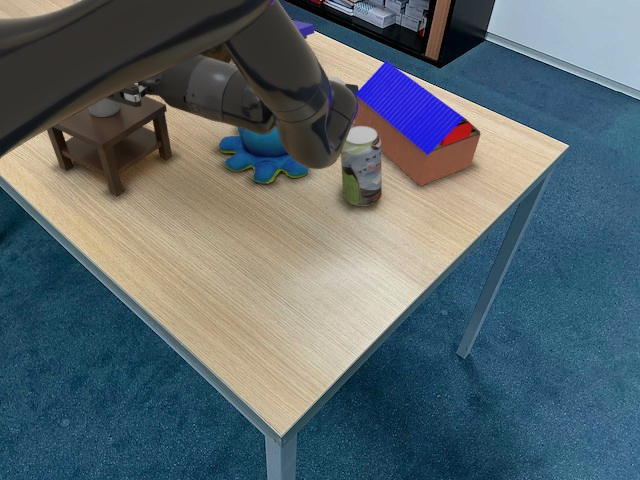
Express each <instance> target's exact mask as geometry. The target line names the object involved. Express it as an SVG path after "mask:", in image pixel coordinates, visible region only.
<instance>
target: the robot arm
mask: <svg viewBox="0 0 640 480" xmlns="http://www.w3.org/2000/svg"><path fill="white" fill-rule="evenodd" d="M221 44H222V45H223V47H224V48H225V50H226V51H227V53H228V54H229V56H230V57H231V60H232V62H233V64H231V63H226V62H223V61H219V60H216V59H213V58H210V57H206V56H203V55H200V54H202V53H204V52H206V51H208V50H210V49H213V48H215V47H217V46H219V45H221ZM327 76H328V75H327V73H326V71H325V70H324V68H323V66H322V64H321V62H320V61H319V59H318V57H317V55H316V54H315V52H314V51H313V49H312V48H311V45H309V43H308V41H307V40H306V39H304V37H303V36H302V34H301V33H300V31H299V30H298V29H297V27H296V26H295V24H294V23H293V21H292V18H291V17H290V15H289V14H288V13H287V11H286V10H285V9H284V7H283V5H282V4H281V3H280V0H80V1H78V2H77V3H75V4H73V3H72V4H70V5H68V6H66V7H63V8H61V9H58V10H55V11H51V12H48V13H45V14H39V15H34V16H29V17H28V16H27V17H10V18H0V159H2V158H3V157H5V156H6V155H8V154H9V153H12V151H15V149H18V147H20V146H21V145H24V144H25V143H26V142H28V141H30V140H32V139H33V138H35V137H37V136H39V135H41V134H42V133H44V132H47V130H48V129H49V128H51V127H53V126H55V125H57V124H58V123H60V122H62V121H64V120H66V119H67V118H69V117H71V116H73V115H75V114H77V113H78V112H80V111H82V110H84V109H86V108H88V107H89V106H91V105H93V104H95V103H97V102H99V101H101V100H103V99H104V98H106V99H109V100H113V101H116V102H119V103H123V104H126V105H129V106H133V107H140V106H141V105H142V102H141V98H143V97H144V96H157V97H160V98H161V99H162V100H163V101H164V102H165V104H166V105H168V106H169V107H171V108H174V109H176V110H180V111H183V112H185V113H188V114H191V115H194V116H197V117H200V118H203V119H205V120H209V121H211V122H216V123H221V124H226V125H229V126H232V127H235V128H237V129H238V128H241V129H244V130H247V131H250V132H253V133H256V134H261V135H266V134H269V133H271V132H272V131H273V130H274V129H275V128H277V131H278V135H279V138H280V141H281V143H282V145H283V147H284V149H285V150H286V152H287V153H288V154H289V155H290V156H291V158H292V159H294V160H295V161H296V162H297V163H299V164H300V165H302V166H304V167H307V169H310V170H324V169H328V168H329V167H331V166H333V165H334V164H335V163H336V162H337V161H338V159H339V158H340V157H341V151H342V149H343V146H344V144H345V141H346V139H347V136H348V134H349V132H350V129H351V128H352V127H353V125H354V122H355V117H356V115H357V111H358V101H357V99H356V97H355V95H354V94H353V93H352V91H351V90H350V89H349V88H347V87H346V86H344V85H343V84H341V83H338V82H335V81H332V80H329V79H328V77H327Z"/></svg>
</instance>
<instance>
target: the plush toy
mask: <svg viewBox="0 0 640 480" xmlns="http://www.w3.org/2000/svg"><path fill="white" fill-rule="evenodd" d="M237 133H238V135H231V136H230V135H229V136H225V137H223V138H222V139H221V140H220V142H219V144H218V148H219V151H220V152H221V154H233V155H231V156H230V157H228V158H226V159H225V161H224V164H225V168H226V169H227V170H229V171H232V172H234V173H240V172H243V171H245V170H246V169H249V168H252V169H253V175H252V180H253V181H254V182H255V183H259V184H270V183H272V182H274V181H275V180H276V177H277V176H278V174H280V172H281V171H282V172H283V173H284V174H285V176H287V177H289V178H291V179H296V178H297V179H299V178H303V177H306V176H307V175H308V171H309V170H308V169H309V168H307V167H304V166H302V165H300V164H299V163H297V162H296V161H295V160H294V159H292V158H291V156H290V155H289V154H288V153H287V152H286V150H285V149H284V147H283V145H282V143H281V141H280V138H279V135H278V131H277V128H275V129H274V130H273V131H272V132H271V133H269V134H266V135H261V134H256V133H253V132H250V131H247V130H244V129H241V128H238V127H237Z"/></svg>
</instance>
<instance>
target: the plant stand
mask: <svg viewBox="0 0 640 480" xmlns="http://www.w3.org/2000/svg"><path fill="white" fill-rule="evenodd" d="M141 102H142V105H141V106H140V107H133V106H129V105H126V104H123V103H119V104H120V110H119V111H118V112H117V113H116V114H114V115H112V116H108V117H96V116H93V115H91V114H90V112H89V110H88V108H86V109H84V110H82V111H80V112H78V113H77V114H75V115H73V116H71V117H69V118H67V119H66V120H64V121H62V122H60V123H58V124H57V125H55V126H53V127H51V128H49V129H48V130H46V132H47V134H48V137H49V140H50V143H51V146H52V148H53V151H54V155H55V157H56V160H57V163H58V165H59V168H60V169H62V170H64V171H65V172H66V171H69V170H71V169H72V168H74V166H75V165H74V163H73V161H74V162H76V163H77V164H79V165H81V166H84V167H85V168H88V169H90V170H92V171H93V172H96V173H97V174H99V175H102V176H103V177H105V180H106V184H107V187H108V191H109V194H110V195H112V196H114V197H119V196H121V194H123V193H124V192H125V191H124V187H123V183H122V179H121V175H123V174H124V173H125V172H127V171H129V170H130V169H131V168H132V167H134V166H135V165H137V164H138V163H140V162H142V161H143V160H144V159H145V158H147V157H149V156H150V155H151V154H153V153H154V152H155V151H158V156H159V158H160V159H161V160H164V161H167V162H168V160H170V159H172V157H173V153H172V152H173V151H172V147H171V141H170V135H169V130H168V123H167V118H166V112H167V111H168V109H167V103H163V102H161V101H158V100H156V99H153V98H152V97H149V96H148V95H145V96H144V97H143V98H141ZM151 122H152V124H153V129H154V130H152V129H150V128H147V127H145V126H146V125H147V124H149V123H151ZM64 134H67V135H69V136H71V137H70V138H69V139H67V140H66V139H65V136H64Z"/></svg>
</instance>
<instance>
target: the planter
mask: <svg viewBox="0 0 640 480" xmlns="http://www.w3.org/2000/svg"><path fill="white" fill-rule="evenodd" d="M88 110H89V112H90V114H91V115H93V116H96V117H108V116H112V115H114V114H116V113H117V112H118V111H119V110H120V104H119V102H116V101H113V100H109V99H106V98H104V99H103V100H101V101H99V102H97V103H95V104H93V105H91V106H89V107H88Z"/></svg>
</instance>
